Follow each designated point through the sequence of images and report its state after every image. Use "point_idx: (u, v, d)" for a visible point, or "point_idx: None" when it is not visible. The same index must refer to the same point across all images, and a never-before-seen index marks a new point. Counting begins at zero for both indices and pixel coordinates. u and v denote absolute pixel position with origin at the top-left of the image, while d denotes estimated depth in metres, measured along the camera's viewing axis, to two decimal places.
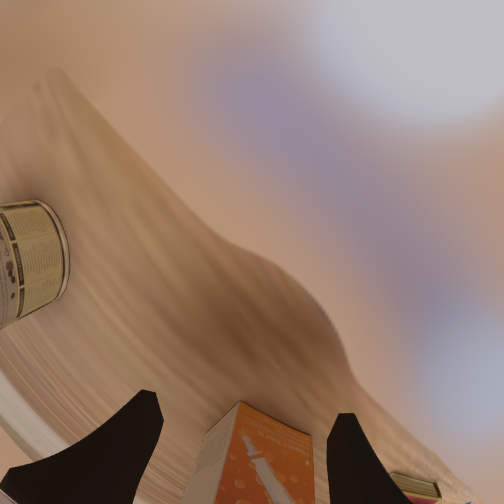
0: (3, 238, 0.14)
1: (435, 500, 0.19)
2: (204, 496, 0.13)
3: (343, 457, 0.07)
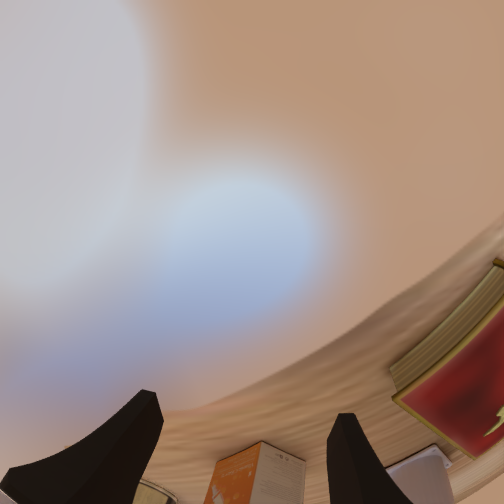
0: None
1: None
2: None
3: (343, 457, 0.07)
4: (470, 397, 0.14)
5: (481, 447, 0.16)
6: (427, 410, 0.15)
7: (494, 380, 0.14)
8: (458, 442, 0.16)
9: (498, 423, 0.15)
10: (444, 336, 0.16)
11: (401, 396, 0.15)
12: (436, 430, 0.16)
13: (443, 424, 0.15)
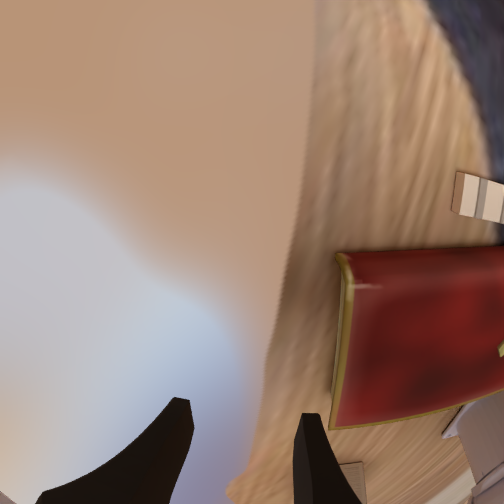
0: None
1: (353, 307, 0.13)
2: None
3: (303, 457, 0.08)
4: (427, 381, 0.14)
5: None
6: (381, 416, 0.16)
7: (443, 354, 0.13)
8: (478, 396, 0.15)
9: None
10: None
11: (332, 425, 0.16)
12: (424, 414, 0.15)
13: (424, 408, 0.15)
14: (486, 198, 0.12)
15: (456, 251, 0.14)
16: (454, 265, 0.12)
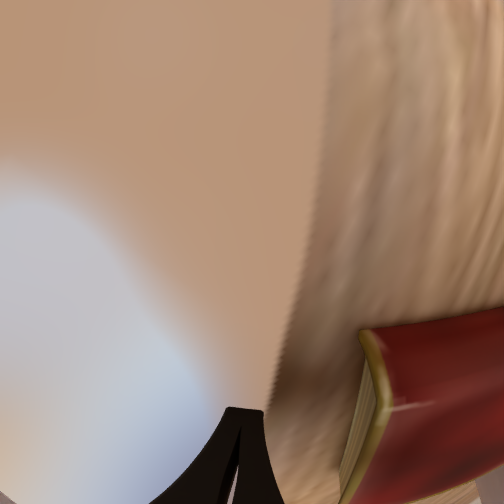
0: None
1: (385, 430, 0.07)
2: None
3: None
4: (460, 468, 0.08)
5: None
6: (399, 502, 0.09)
7: (487, 442, 0.07)
8: None
9: None
10: (352, 453, 0.10)
11: None
12: (448, 489, 0.09)
13: (450, 486, 0.09)
14: None
15: None
16: None
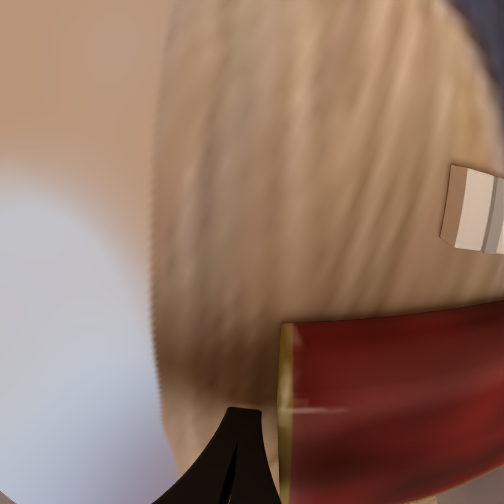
0: None
1: (293, 433, 0.07)
2: None
3: (237, 452, 0.08)
4: (415, 483, 0.08)
5: None
6: None
7: (442, 459, 0.07)
8: (480, 475, 0.08)
9: None
10: None
11: None
12: (408, 502, 0.09)
13: (409, 499, 0.09)
14: None
15: (485, 316, 0.07)
16: (483, 353, 0.06)
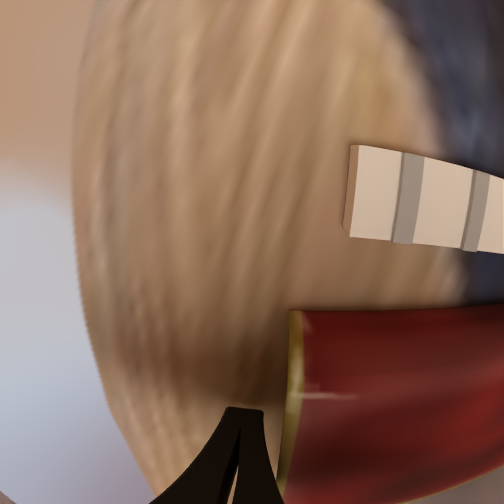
0: None
1: (300, 420, 0.07)
2: None
3: None
4: (409, 482, 0.08)
5: None
6: None
7: (439, 457, 0.07)
8: (471, 479, 0.09)
9: None
10: None
11: None
12: (400, 503, 0.09)
13: (401, 499, 0.09)
14: (423, 198, 0.07)
15: (488, 315, 0.08)
16: (487, 348, 0.06)
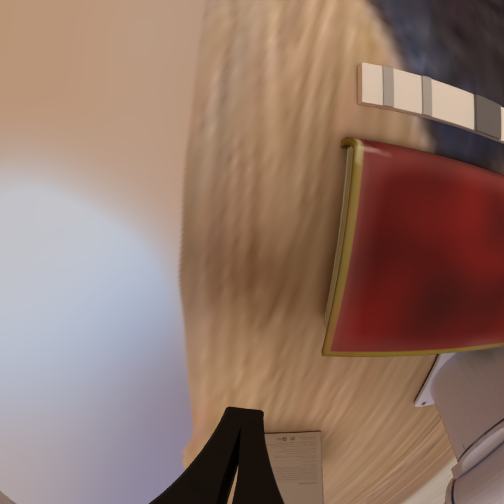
0: None
1: (362, 172, 0.12)
2: None
3: None
4: (437, 300, 0.14)
5: None
6: (384, 343, 0.15)
7: (454, 264, 0.13)
8: (484, 343, 0.14)
9: None
10: (339, 261, 0.16)
11: (328, 347, 0.15)
12: (429, 351, 0.15)
13: (431, 342, 0.15)
14: (396, 86, 0.12)
15: None
16: (459, 161, 0.12)
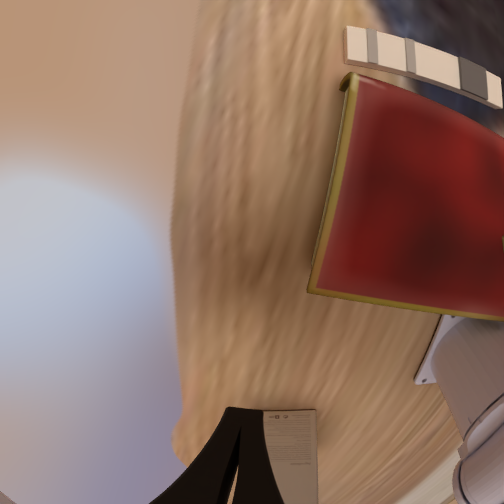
0: None
1: (357, 98, 0.11)
2: None
3: None
4: (431, 245, 0.13)
5: None
6: (374, 286, 0.15)
7: (449, 207, 0.13)
8: (479, 311, 0.14)
9: None
10: None
11: (314, 283, 0.15)
12: (422, 307, 0.15)
13: (424, 295, 0.14)
14: (379, 46, 0.12)
15: None
16: (453, 111, 0.11)
